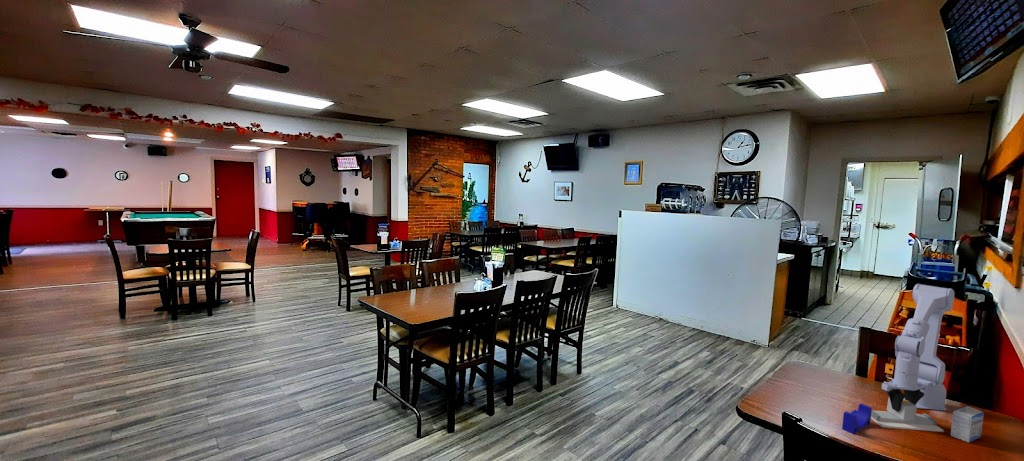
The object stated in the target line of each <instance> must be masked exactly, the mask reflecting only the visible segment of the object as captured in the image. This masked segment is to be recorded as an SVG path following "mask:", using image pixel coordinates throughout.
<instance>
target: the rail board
mask: <svg viewBox="0 0 1024 461" xmlns="http://www.w3.org/2000/svg"><path fill="white" fill-rule="evenodd" d="M871 421H874V423H876V424H877V425H879V427H881V428H885V429H886V428H888V429H901V430H912V431H913V430H915V431H927V432H928V431H929V432H939V433H940V432H941V433H944V432H945V431H944V429H942V428H941V427H940V426H938V425H937V419H935V418H934V417H933V416H931V415H929V414H927V413H925V412H922V414H921V413H916V416H915V420H902V419H900V418H899V417H897V416H895V415H894V414H892V413H890V412H889V411H887V410H886V411H884V410H883V411H882V410H873V409H872V412H871Z"/></svg>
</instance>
